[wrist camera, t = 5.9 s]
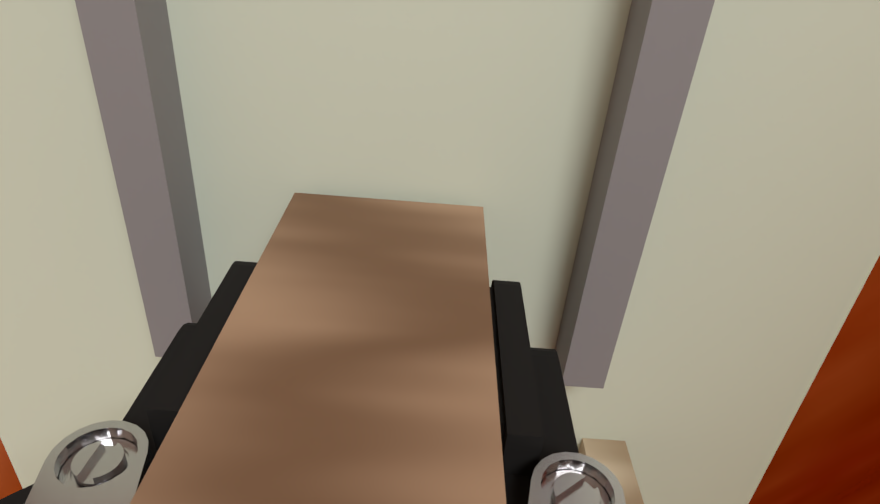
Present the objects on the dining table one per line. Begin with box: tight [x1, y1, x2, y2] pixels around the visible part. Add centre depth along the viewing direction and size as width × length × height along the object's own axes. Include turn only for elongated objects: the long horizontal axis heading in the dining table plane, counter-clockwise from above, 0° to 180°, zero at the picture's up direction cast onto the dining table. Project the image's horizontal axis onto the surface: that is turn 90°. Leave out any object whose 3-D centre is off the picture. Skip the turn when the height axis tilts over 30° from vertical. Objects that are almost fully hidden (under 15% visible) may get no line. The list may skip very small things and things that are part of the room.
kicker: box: [130, 193, 506, 504], centre depth 10 cm, size 6×6×9 cm
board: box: [0, 0, 880, 504], centre depth 14 cm, size 22×25×2 cm
